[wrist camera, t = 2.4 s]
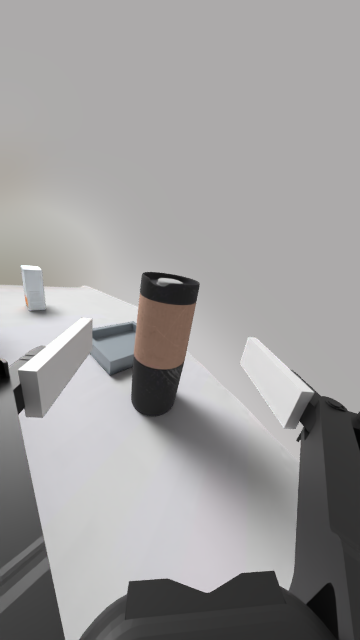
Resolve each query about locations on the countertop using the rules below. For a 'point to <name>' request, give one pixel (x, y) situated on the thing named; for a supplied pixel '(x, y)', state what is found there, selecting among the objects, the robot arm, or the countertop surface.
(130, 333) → the tray
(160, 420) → the countertop surface
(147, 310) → the travel mug
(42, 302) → the skincare box
